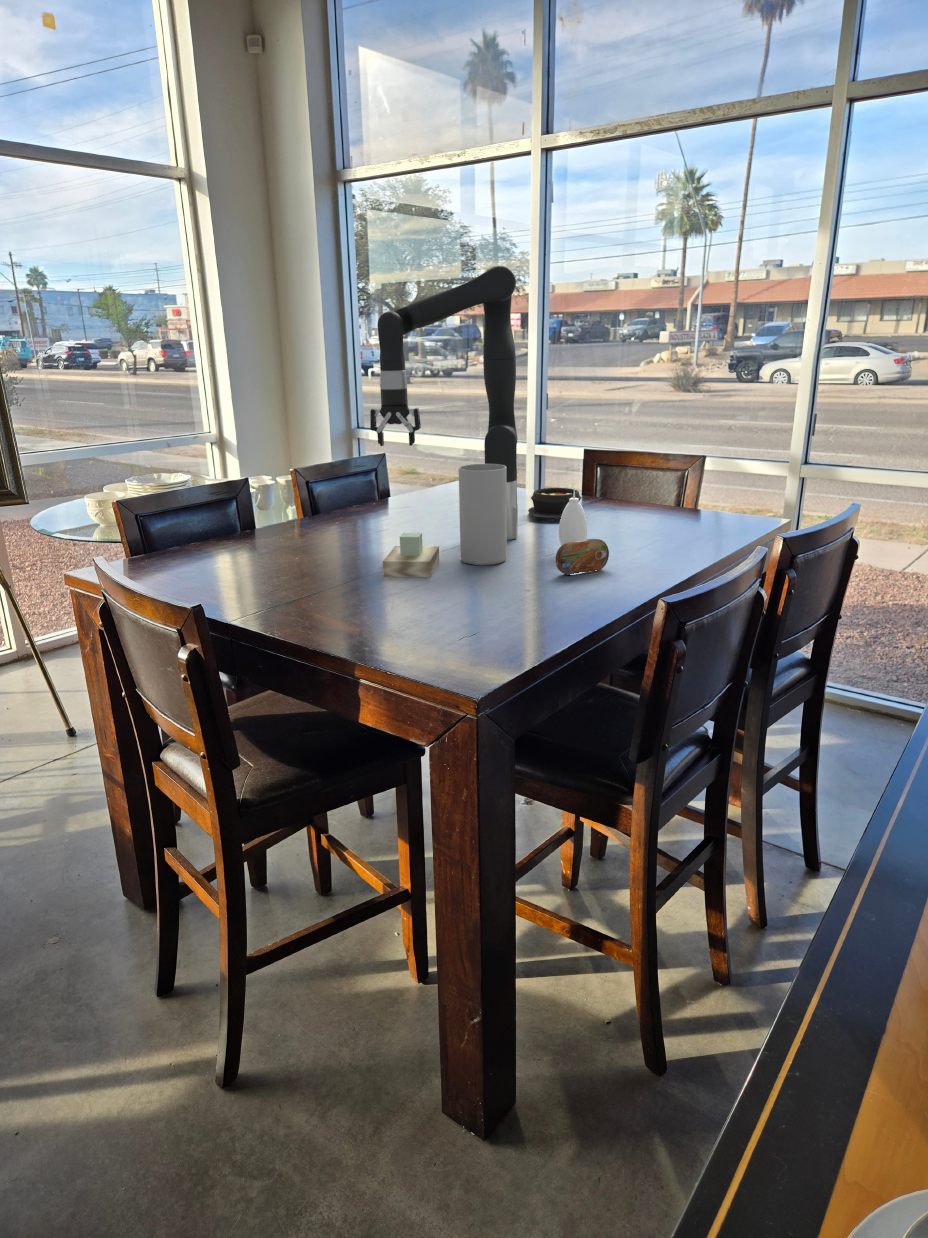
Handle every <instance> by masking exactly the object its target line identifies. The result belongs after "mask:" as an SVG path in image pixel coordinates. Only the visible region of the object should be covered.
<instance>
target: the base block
mask: <svg viewBox="0 0 928 1238" xmlns="http://www.w3.org/2000/svg"><path fill="white" fill-rule="evenodd" d="M439 562H440V546H439V545H437V546H436V545H431V546H430V545H428V546H427V545H423V552H422V553H421V555H420V556H401V555H400V545H395V546H394V547H392V549H391V550H390V552H389V553H388V554H387V555H386V556H385V558H384V559H383V560H382V566H383V567H382V570H383V573H382V575H383V577H394V578H396V577H399V578H401V577H403V578H404V577H405V578H412V577H413V578H414V577H417V578H430V577H431V576H432V574H433V573H434V571H435V569H436V567H437V566H438V564H439Z"/></svg>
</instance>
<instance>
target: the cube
mask: <svg viewBox="0 0 928 1238" xmlns="http://www.w3.org/2000/svg"><path fill="white" fill-rule="evenodd" d="M399 546H400V555H401V556H420V555H421V553H422V552H423V546H424V544H423V533H422V532H402V533H401V534H400V536H399Z"/></svg>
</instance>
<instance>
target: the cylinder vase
mask: <svg viewBox="0 0 928 1238" xmlns="http://www.w3.org/2000/svg"><path fill="white" fill-rule="evenodd" d="M458 494H459V495H458V498H459V500H458V503H459V506H458V507H459V508H458V509H459V511H458V512H459V543H460V544H459V545H460V546H459V548H460V549H459V550H460V560H461V561H462V562H463V563H465V564H467V563H468V565H471V564H473V566H493V565H499V564H501V563H504V562H505V561H506V560H507V557H508V555H507V553H508V544H507V542H508V540H507V480H506V466H504V465H499V464H485V463H473V464H465V465H460V466H458Z"/></svg>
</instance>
